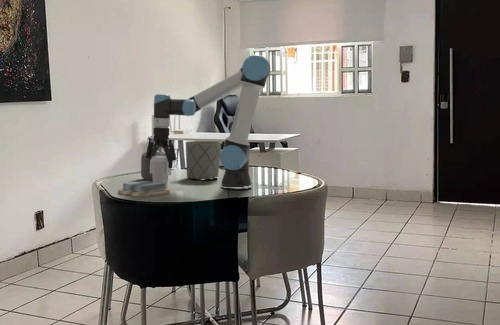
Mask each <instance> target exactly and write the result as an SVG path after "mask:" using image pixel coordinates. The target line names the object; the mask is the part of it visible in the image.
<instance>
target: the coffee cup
mask: <svg viewBox="0 0 500 325" xmlns="http://www.w3.org/2000/svg"><path fill="white" fill-rule="evenodd" d="M167 161H168V159H167V157H166V156H152V158H151V162H152V175H153V182H157V183H165V189H167V188H168V183H169V175H166V166H167Z"/></svg>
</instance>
